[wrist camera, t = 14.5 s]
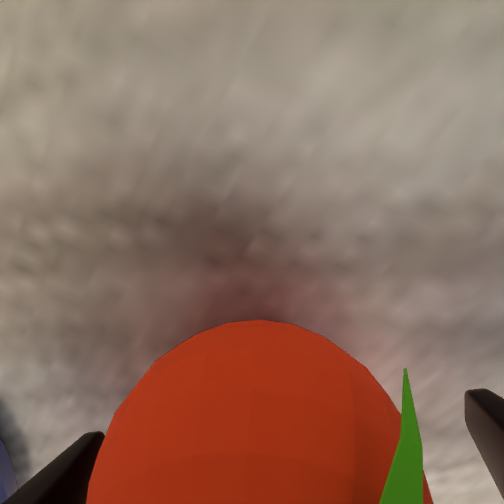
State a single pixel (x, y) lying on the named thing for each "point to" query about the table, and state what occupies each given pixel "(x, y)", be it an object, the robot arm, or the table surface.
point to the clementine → (260, 427)
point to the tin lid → (6, 475)
